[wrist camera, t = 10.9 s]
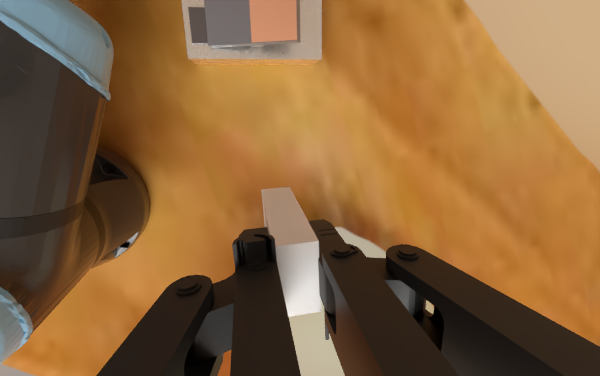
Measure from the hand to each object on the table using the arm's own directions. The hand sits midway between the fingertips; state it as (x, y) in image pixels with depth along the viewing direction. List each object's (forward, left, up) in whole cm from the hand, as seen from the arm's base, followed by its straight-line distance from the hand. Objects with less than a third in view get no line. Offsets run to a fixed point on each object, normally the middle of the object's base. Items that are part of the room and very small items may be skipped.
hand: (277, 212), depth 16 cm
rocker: (0, +13, -18) cm, 22 cm away
